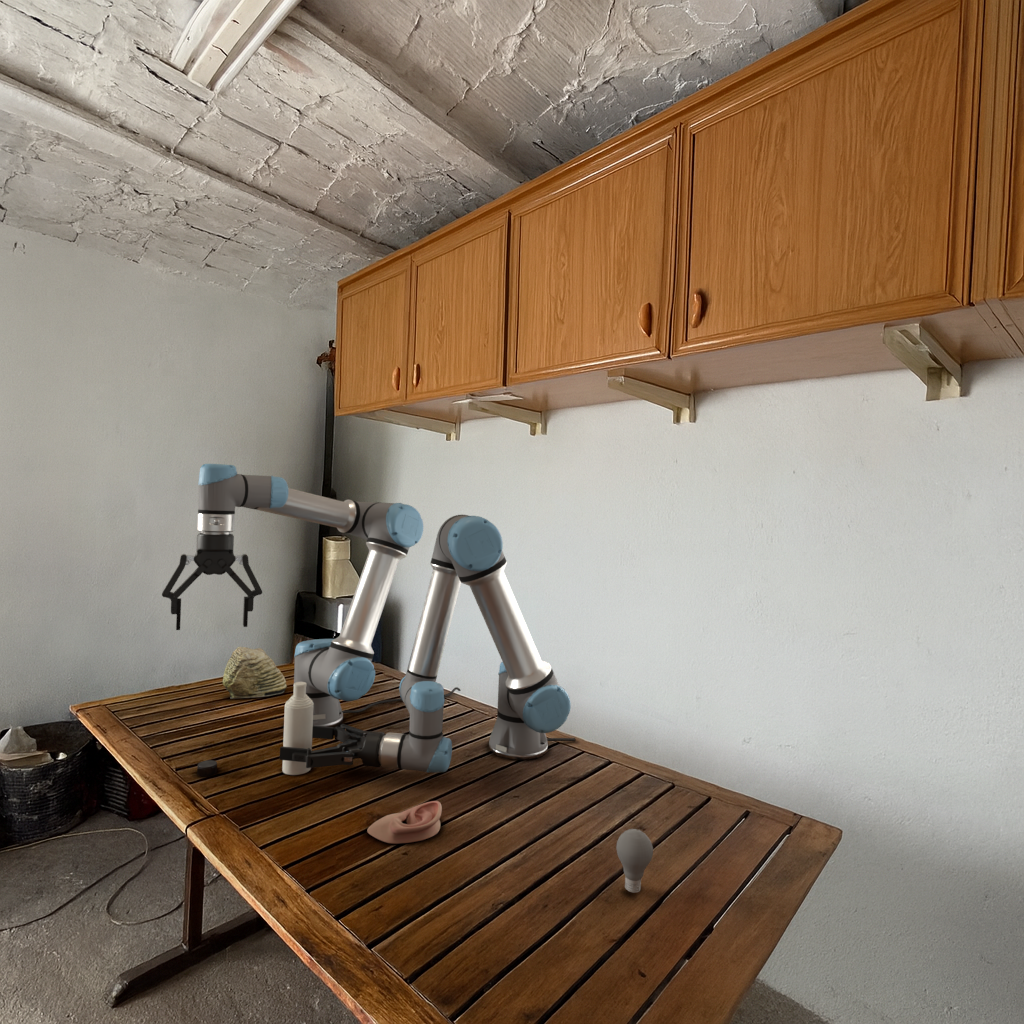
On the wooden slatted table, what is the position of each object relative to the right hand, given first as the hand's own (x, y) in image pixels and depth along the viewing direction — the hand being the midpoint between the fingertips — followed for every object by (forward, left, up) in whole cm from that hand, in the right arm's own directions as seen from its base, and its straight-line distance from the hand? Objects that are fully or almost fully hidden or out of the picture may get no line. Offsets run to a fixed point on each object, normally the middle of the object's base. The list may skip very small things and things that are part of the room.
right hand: (294, 741), depth 147 cm
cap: (+18, -2, -5) cm, 19 cm away
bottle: (-1, 0, -6) cm, 6 cm away
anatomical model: (-20, +33, -6) cm, 39 cm away
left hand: (+18, -2, +26) cm, 32 cm away
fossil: (+12, -58, -6) cm, 60 cm away
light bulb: (-54, +62, -6) cm, 82 cm away
